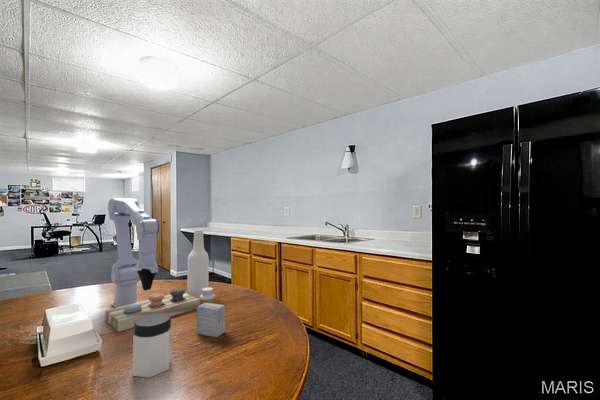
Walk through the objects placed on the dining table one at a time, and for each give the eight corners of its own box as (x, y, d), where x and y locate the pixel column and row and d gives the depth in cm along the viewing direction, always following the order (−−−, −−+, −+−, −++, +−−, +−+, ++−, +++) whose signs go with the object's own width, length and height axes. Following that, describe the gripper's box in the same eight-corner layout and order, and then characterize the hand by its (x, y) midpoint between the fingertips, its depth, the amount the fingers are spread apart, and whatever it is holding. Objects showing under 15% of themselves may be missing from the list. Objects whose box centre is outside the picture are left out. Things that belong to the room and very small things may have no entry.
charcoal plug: (167, 302, 109) (168, 290, 109) (180, 299, 113) (181, 287, 113) (174, 305, 106) (174, 293, 106) (187, 302, 110) (187, 290, 110)
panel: (105, 320, 98) (105, 310, 98) (182, 299, 119) (182, 291, 119) (118, 331, 89) (118, 320, 89) (199, 307, 110) (199, 298, 110)
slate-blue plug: (121, 320, 97) (121, 306, 97) (137, 316, 101) (138, 303, 101) (126, 324, 94) (127, 310, 94) (143, 319, 98) (143, 306, 98)
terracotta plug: (146, 308, 103) (146, 295, 103) (160, 304, 107) (160, 292, 107) (151, 311, 100) (152, 298, 100) (166, 307, 104) (166, 295, 104)
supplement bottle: (210, 318, 100) (210, 291, 100) (196, 317, 101) (196, 290, 101) (217, 313, 105) (217, 287, 105) (204, 311, 106) (204, 286, 106)
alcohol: (182, 299, 120) (183, 230, 121) (197, 293, 128) (198, 228, 129) (198, 302, 117) (199, 230, 117) (212, 295, 125) (213, 229, 125)
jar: (163, 354, 75) (164, 310, 76) (177, 366, 70) (178, 318, 70) (126, 369, 68) (127, 320, 69) (139, 383, 63) (140, 330, 63)
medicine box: (225, 332, 89) (225, 304, 89) (217, 338, 85) (217, 309, 85) (205, 328, 92) (205, 302, 92) (196, 334, 87) (196, 306, 88)
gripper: (128, 251, 103) (128, 288, 103) (142, 256, 93) (142, 296, 93) (148, 249, 108) (148, 284, 108) (164, 253, 99) (163, 291, 98)
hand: (146, 289), depth 101 cm, fingers closed
